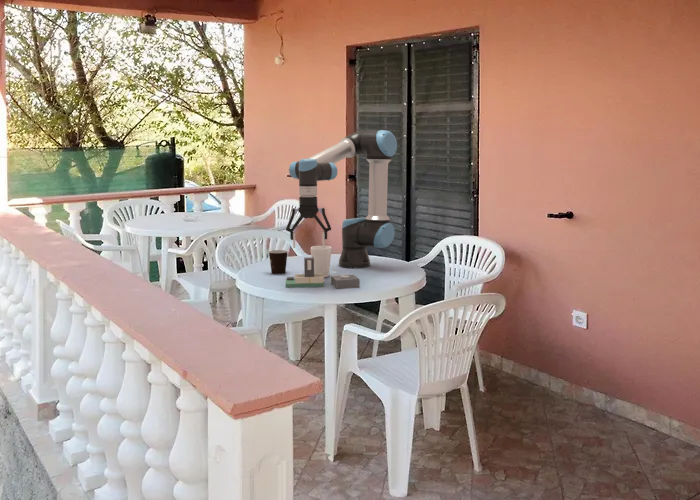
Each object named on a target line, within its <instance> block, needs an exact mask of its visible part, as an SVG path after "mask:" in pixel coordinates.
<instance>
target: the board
mask: <svg viewBox="0 0 700 500" xmlns="http://www.w3.org/2000/svg"><path fill="white" fill-rule="evenodd" d="M322 287H323V288H324V287H325V282H324V283H295V277H294V276H287V277H286V278H285V288H322Z"/></svg>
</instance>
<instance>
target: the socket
mask: <svg viewBox="0 0 700 500" xmlns="http://www.w3.org/2000/svg"><path fill="white" fill-rule="evenodd" d="M294 276H295V277H294V279H295V283H324V284H325V281H324V279H325V277H323V274H314V277H305V276H304V273H296V274H294Z"/></svg>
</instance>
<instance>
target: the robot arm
mask: <svg viewBox="0 0 700 500" xmlns="http://www.w3.org/2000/svg"><path fill="white" fill-rule="evenodd" d="M397 149H398V142H397V138H396V135H394V133H392V132H391V131H389V130H383V129H380V130H379V129H377V130H375V129H373V130H367V129H363V130H359V131H356V132H353V133H351V134H349V135H347V136H345V137H343V138H341V139H340V140H339V142H337V143H336V144H334V145H332V146H329V147H328V148H325V149H324V150H322V151H319V152H317V153H315V154H314V155H312V156H310V157H308V158H301V159H299V160H298V161H293V162H291V163H290V164H289V167H288V173H289V176H290V177H291V178H292V179H294V180H295V179H296V180H298V193H299V195H298V196H299V198H298V199H299V202H298V203H299V205H298V206H299V207H298V208H294V207H292V209H291V215H290V218H289V220H288V221H287V222H288V223H287V224H286V228H285V231H286V232H289V233H290V235H289V236H290V237H289V238H290V241H293V242H292V247H293V249H296V232H295V230H296V229H297V227H298V225H299V224H300V222H301V221H302V220H303V219H315V220H316V222H317V223H318V225H319V226H320V228H322V230H323V231H322V235H321V236H322V237H321V238H322V239H321V240H322V246H323V248H325V246H326V245H325V244H326V243H325V242H326V241H325V240H328V232H329V231H332V226H331V224H330V222H329V219H328V217H327V214H326V209H325V207H318V196H317V195H318V182H321V181H331V180H334V179H336V178H337V176H338V171H339V170H338V166H337V165H336V163H338V162H340V161H342V160H344V159H346V158H347V159H350V158H353V157H355V156H366V157H365V159H366V161H367V162H368V163H369V169H368V174H369V175H368V210H367V211H368V214H367V216H365V217H354V218H348V219H343V221H342V226H341V238H342V241H341V242H342V243H341V246H342V250H341V253H340V257H339V260H338V266H339V267H341V268H344V269H364V268H368V267H371V260H370V256H369V253H368V250H367V247H373V248H377V249H378V248H379V249H380V248H381V249H382V248H384V249H385V248H387V247H389V246H390V245H391V244H392V242H393V241H394V238H395V233H396V231H395V227H394V225H393V224H392V223H391V222H390V221H391V218H390V217H389V216H388V213H387V212H388V182H389V181H388V174H389V172H388V171H389V163H390V162H391V161H392V157H393V156H394V155H396V152H397ZM298 212H299V214H300V215H299V217H298V218H297V219H296V221H295V222H294V224H293V225H292V223H293V221H294V219H295V215H296V214H297V213H298ZM318 212H320V214H322V217H323V220H324V222H325V224H326V226H327V227H326V226H325V225H324V223H323V222H322V221H321V220H320V218H319V217H318V216H317V214H318ZM291 225H292V227H291Z"/></svg>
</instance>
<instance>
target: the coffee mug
mask: <svg viewBox="0 0 700 500" xmlns="http://www.w3.org/2000/svg"><path fill="white" fill-rule="evenodd" d="M268 256H269V257H268V258H269V264H270V270H271V274H272V275H285V274H286V270H287V262H288V261H287V260H288V250H284V249H274V250H273V249H272V250H269V251H268Z"/></svg>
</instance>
